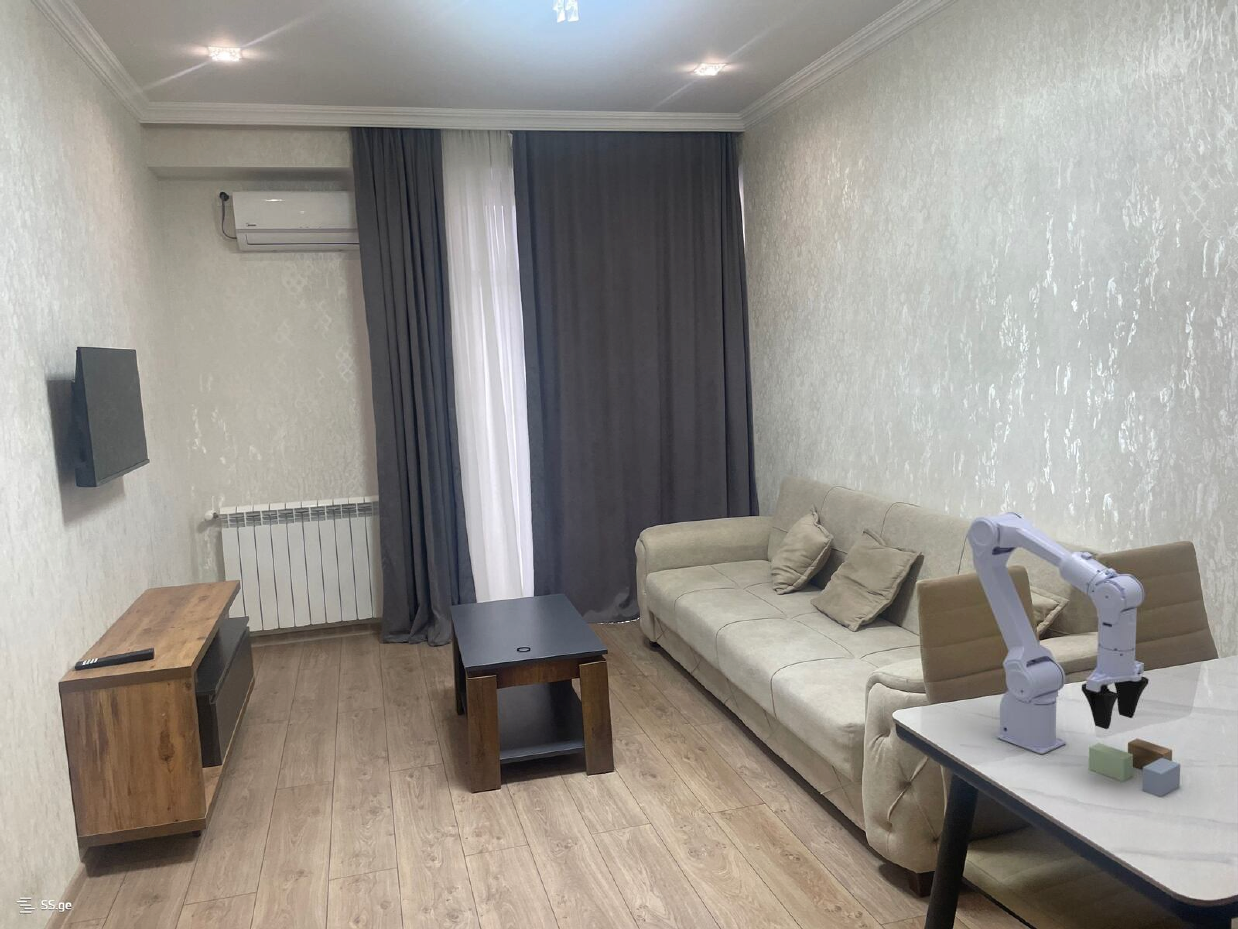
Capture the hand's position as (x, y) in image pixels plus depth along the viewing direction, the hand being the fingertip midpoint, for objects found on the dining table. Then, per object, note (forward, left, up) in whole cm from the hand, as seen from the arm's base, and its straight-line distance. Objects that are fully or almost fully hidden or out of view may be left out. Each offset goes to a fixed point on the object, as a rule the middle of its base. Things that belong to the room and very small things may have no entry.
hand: (1114, 721), depth 155 cm
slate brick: (+8, +1, -10) cm, 12 cm away
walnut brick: (+3, +7, -10) cm, 12 cm away
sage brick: (0, 0, -10) cm, 10 cm away
